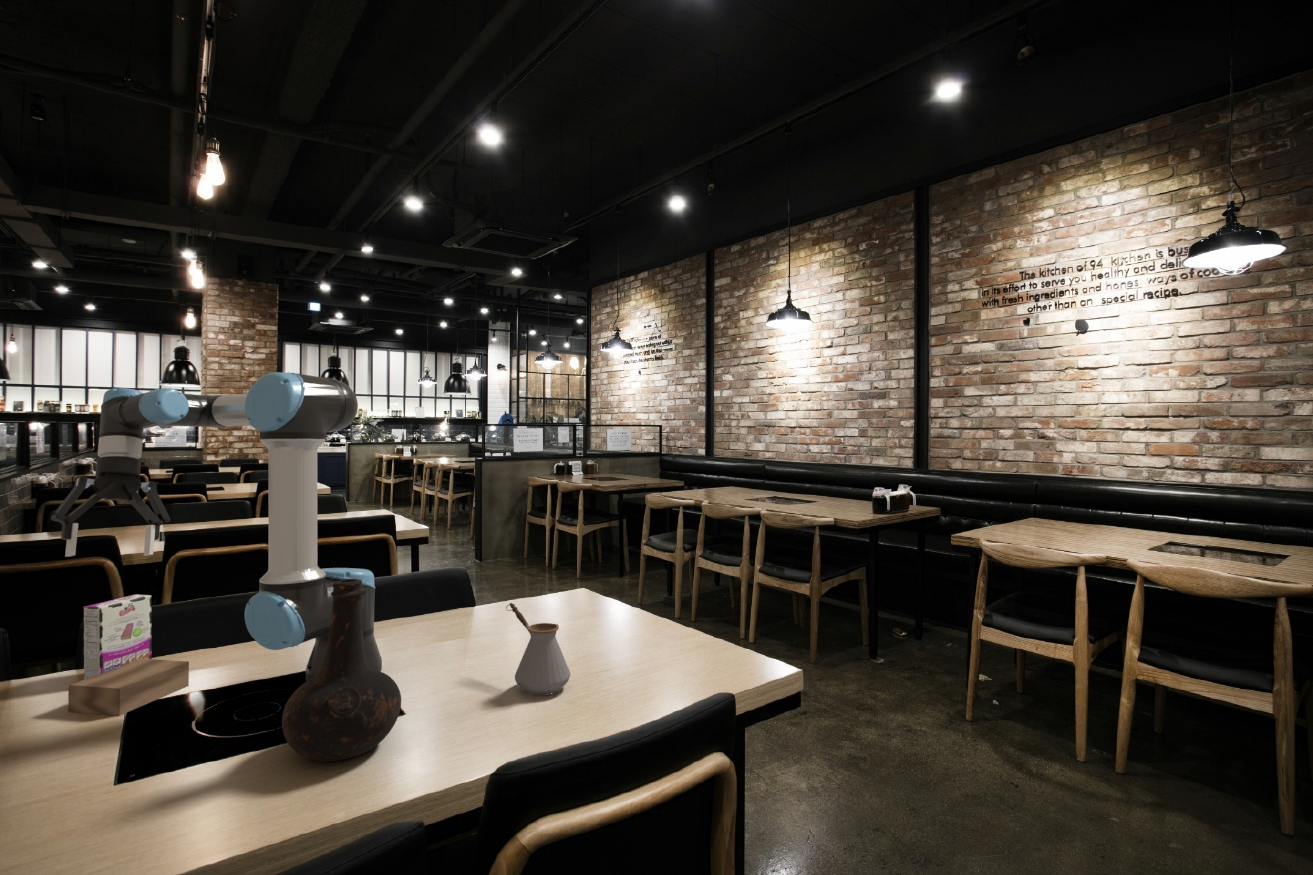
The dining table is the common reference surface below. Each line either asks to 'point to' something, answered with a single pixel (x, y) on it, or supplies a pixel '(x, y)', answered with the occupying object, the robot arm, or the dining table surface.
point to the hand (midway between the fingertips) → (110, 555)
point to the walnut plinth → (128, 686)
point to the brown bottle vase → (342, 691)
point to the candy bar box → (116, 633)
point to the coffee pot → (541, 660)
